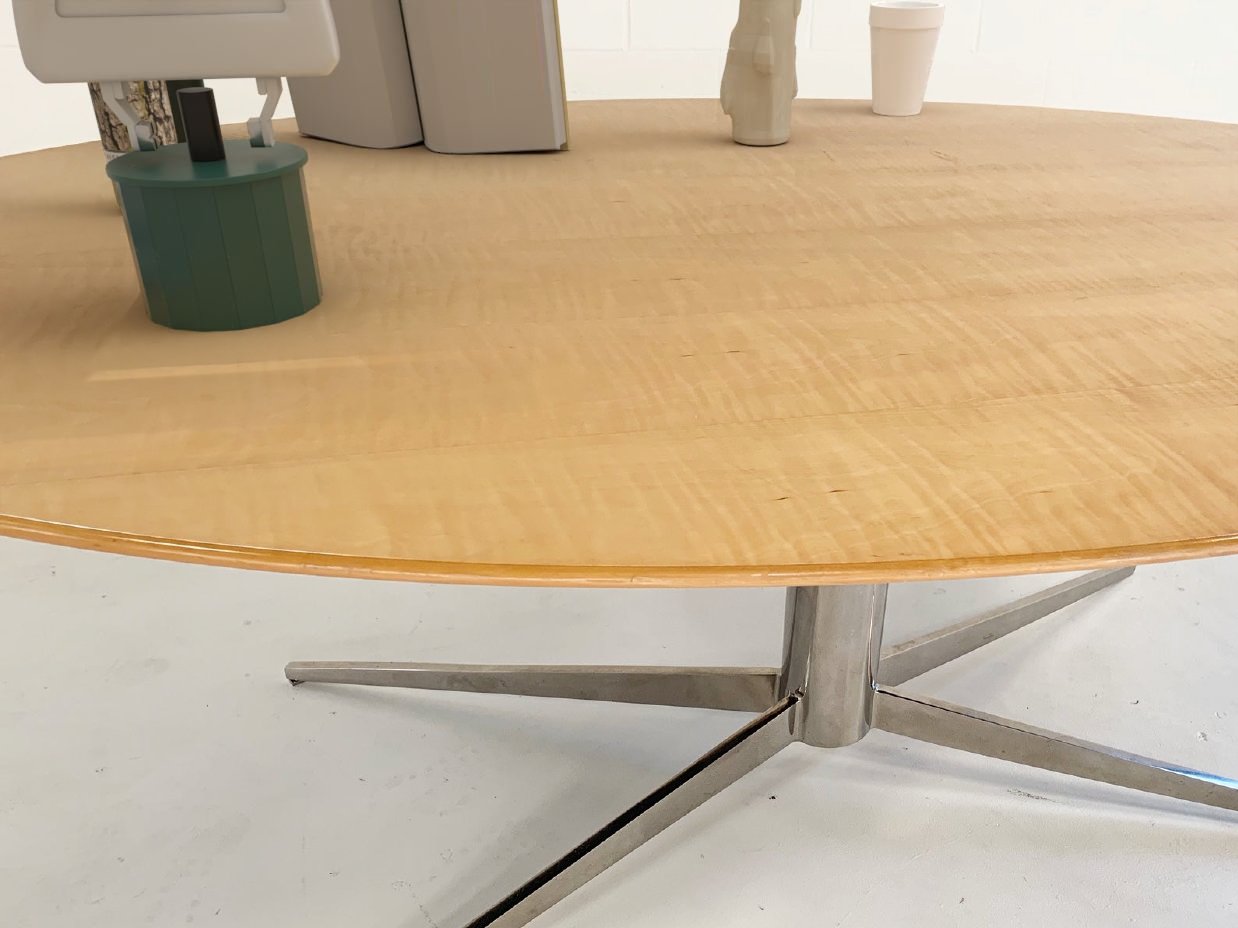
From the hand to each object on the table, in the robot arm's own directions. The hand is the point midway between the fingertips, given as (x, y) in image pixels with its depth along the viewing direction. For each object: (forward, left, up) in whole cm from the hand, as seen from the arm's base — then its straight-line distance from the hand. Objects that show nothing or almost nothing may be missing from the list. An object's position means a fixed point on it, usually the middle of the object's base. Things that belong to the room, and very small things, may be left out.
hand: (205, 148), depth 81 cm
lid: (0, 0, -1) cm, 1 cm away
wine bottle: (-15, +64, -12) cm, 67 cm away
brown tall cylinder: (-13, +34, -12) cm, 38 cm away
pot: (0, 0, -12) cm, 12 cm away
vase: (+53, +55, -12) cm, 77 cm away
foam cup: (+76, +71, -12) cm, 105 cm away
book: (+13, +60, -12) cm, 63 cm away
